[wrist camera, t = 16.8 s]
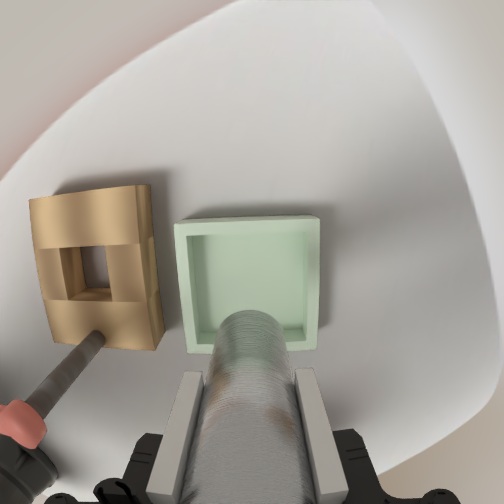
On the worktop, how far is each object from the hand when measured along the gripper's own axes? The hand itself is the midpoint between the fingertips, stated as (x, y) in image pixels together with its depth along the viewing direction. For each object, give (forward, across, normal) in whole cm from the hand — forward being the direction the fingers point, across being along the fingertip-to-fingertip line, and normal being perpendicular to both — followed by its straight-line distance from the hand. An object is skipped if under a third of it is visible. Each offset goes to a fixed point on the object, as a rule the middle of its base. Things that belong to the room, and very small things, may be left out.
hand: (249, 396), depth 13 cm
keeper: (+1, -20, -5) cm, 20 cm away
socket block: (+18, -15, +2) cm, 23 cm away
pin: (+5, 0, 0) cm, 5 cm away
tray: (+18, 0, 0) cm, 18 cm away
